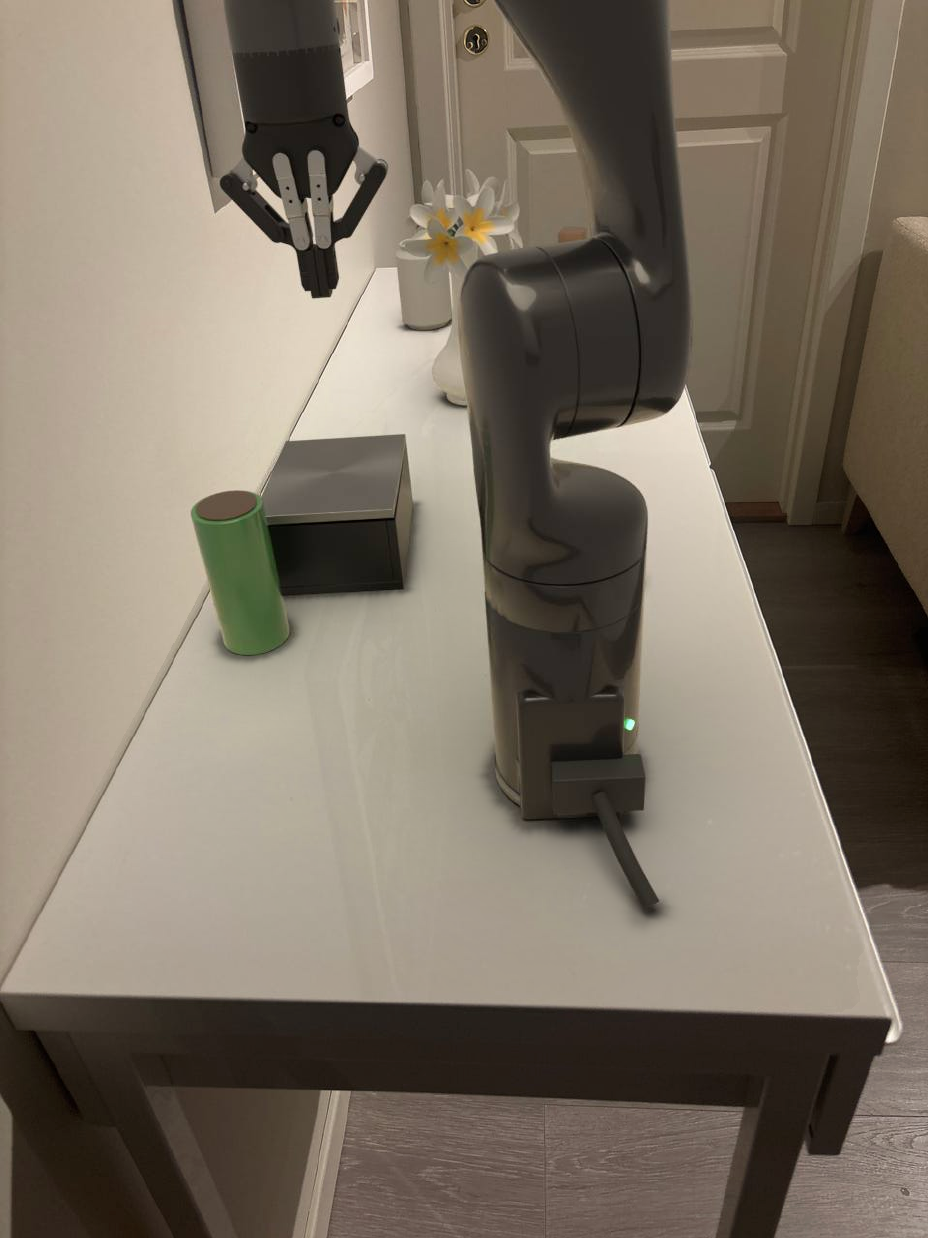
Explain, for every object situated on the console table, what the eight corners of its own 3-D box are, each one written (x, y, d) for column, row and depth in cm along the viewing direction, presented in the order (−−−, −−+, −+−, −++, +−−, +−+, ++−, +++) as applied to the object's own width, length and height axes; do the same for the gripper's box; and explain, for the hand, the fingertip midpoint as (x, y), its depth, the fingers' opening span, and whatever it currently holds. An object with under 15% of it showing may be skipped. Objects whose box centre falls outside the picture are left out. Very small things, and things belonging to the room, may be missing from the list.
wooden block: (563, 276, 159) (563, 225, 155) (587, 277, 158) (587, 226, 154) (557, 283, 156) (557, 231, 152) (582, 284, 155) (582, 232, 151)
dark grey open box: (403, 588, 83) (395, 520, 79) (272, 595, 84) (257, 527, 80) (413, 504, 96) (406, 441, 92) (298, 511, 97) (287, 449, 93)
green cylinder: (283, 653, 76) (254, 519, 70) (217, 657, 77) (181, 523, 70) (294, 615, 81) (268, 486, 74) (231, 618, 81) (199, 490, 74)
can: (395, 322, 146) (386, 239, 139) (440, 312, 148) (434, 231, 141) (414, 335, 140) (406, 249, 133) (460, 325, 142) (455, 240, 136)
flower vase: (414, 431, 111) (390, 200, 97) (429, 373, 126) (410, 167, 112) (526, 427, 110) (519, 193, 96) (528, 369, 125) (521, 160, 111)
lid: (393, 517, 78) (392, 509, 78) (253, 525, 79) (251, 517, 78) (406, 441, 92) (405, 433, 92) (287, 448, 93) (285, 440, 92)
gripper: (177, 53, 64) (231, 315, 73) (375, 37, 63) (403, 303, 73) (203, 46, 70) (249, 288, 80) (383, 31, 69) (407, 277, 79)
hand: (322, 295), depth 76 cm, fingers closed
